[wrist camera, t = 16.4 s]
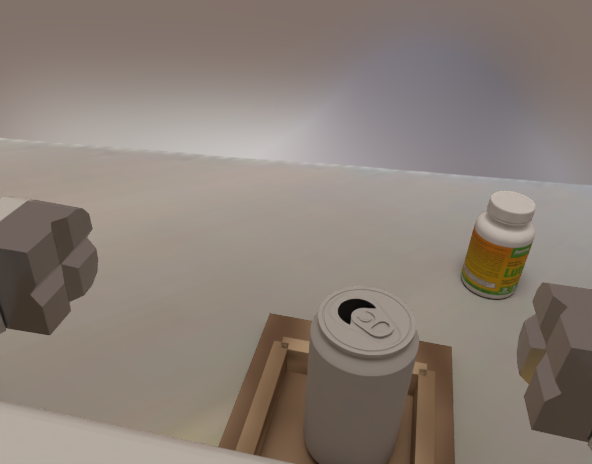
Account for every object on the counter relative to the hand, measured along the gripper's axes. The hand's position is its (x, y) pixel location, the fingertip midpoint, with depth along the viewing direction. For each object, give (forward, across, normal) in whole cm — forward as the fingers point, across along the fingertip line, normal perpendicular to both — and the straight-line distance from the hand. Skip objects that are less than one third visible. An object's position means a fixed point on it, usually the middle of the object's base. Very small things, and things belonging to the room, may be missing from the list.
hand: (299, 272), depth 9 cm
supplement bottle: (+38, -14, +27) cm, 48 cm away
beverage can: (+16, -2, +27) cm, 31 cm away
